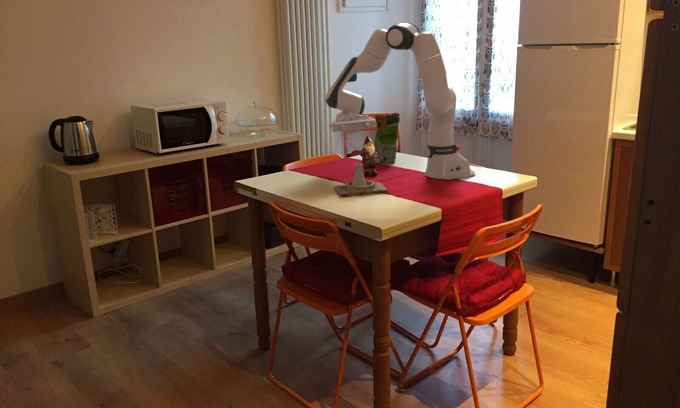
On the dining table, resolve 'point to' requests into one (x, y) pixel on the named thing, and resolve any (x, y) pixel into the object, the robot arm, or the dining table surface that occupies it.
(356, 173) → the flask
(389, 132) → the pouch
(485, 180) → the dining table surface
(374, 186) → the collar holder
